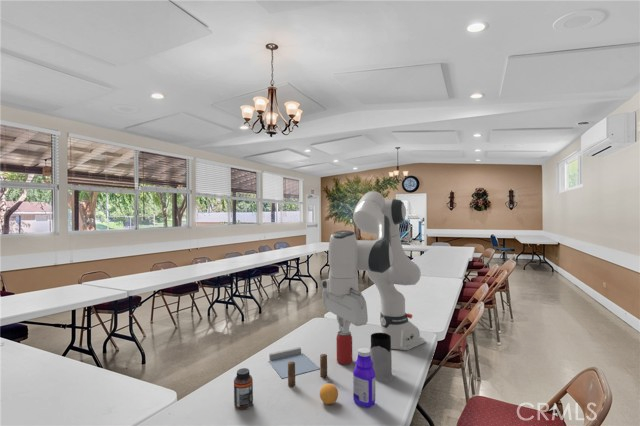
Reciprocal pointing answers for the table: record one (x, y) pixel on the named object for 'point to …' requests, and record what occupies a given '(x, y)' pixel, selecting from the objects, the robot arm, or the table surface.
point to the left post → (291, 374)
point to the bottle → (364, 379)
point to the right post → (323, 366)
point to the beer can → (344, 347)
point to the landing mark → (301, 365)
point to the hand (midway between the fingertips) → (344, 331)
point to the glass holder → (381, 356)
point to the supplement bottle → (243, 389)
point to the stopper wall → (284, 353)
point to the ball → (328, 393)
